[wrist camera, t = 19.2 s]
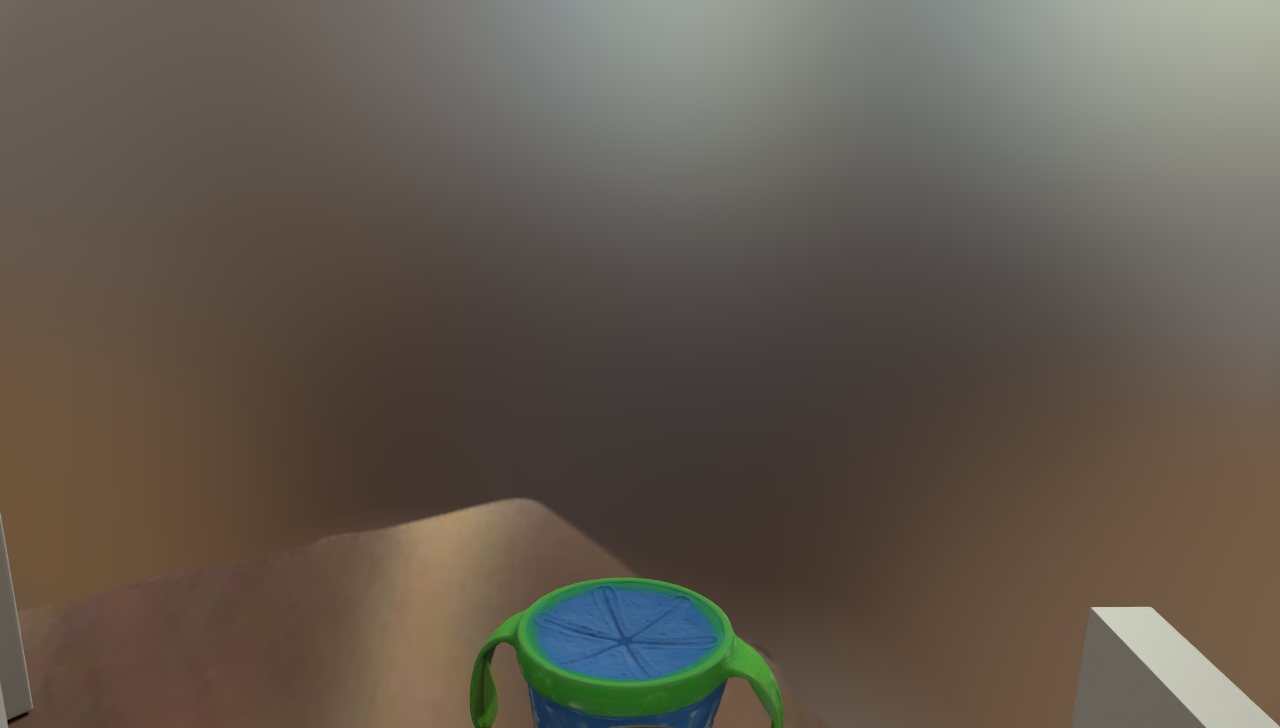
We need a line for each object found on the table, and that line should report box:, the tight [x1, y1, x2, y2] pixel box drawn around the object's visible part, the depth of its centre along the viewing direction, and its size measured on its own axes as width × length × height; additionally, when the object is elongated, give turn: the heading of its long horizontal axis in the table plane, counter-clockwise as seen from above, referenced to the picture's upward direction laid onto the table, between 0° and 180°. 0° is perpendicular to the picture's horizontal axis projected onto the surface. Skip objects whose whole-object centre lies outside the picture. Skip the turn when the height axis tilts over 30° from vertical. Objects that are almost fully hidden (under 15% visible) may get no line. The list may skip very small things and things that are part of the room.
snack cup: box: [470, 578, 783, 728], centre depth 50 cm, size 16×10×10 cm
